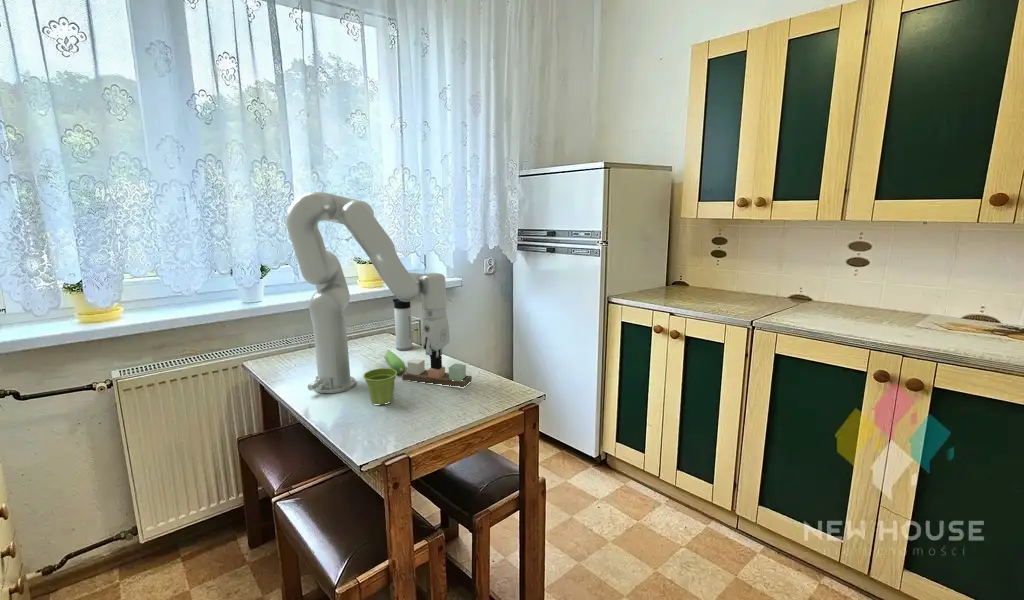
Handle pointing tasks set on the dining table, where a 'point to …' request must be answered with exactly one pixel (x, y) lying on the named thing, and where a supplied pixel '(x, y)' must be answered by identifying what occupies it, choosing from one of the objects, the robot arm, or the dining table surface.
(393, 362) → the edible corn
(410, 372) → the ivory block
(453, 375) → the sage block
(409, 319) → the travel mug
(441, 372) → the terracotta block
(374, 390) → the plant pot
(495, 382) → the dining table surface
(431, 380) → the button board
